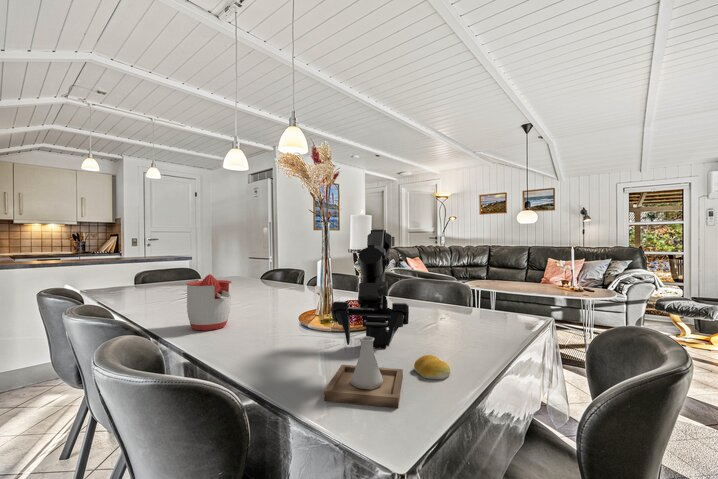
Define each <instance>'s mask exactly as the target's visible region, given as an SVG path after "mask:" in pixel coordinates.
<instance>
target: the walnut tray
mask: <svg viewBox="0 0 718 479" xmlns="http://www.w3.org/2000/svg"><path fill="white" fill-rule="evenodd" d="M355 368H356V365H354V364H353V365H351V364H341V365H340V366H339V368H338V369H337V371H336V372H335V374H334V376H332V378H331V380H330V381H329V383H328V384H327V386H326V387H325V389H324V391H323V401H324V402H331V403H332V402H333V403H343V404H353V405H363V406H371V407H373V406H374V407H383V408H384V407H385V408H395V409H399V404H400V400H401V399H400V398H401V393H402V392H401V391H402V383H403V376H404V374H403V373H404V372H403V371H404V369H402V368H392V367H391V368H389V367H379V370H380V373H381V375H382V378H383V383H382V385H381V386H380V387H377V388H375V389H372V390H370V389H360V388H357V387H355V386H353V385H351V384H350V382H351V379H352V376H353V374H354V371H355Z"/></svg>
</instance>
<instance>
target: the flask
mask: <svg viewBox="0 0 718 479" xmlns="http://www.w3.org/2000/svg"><path fill="white" fill-rule="evenodd" d="M373 341H374V338H373V337H367V336H366V335H365V336H361V337H360V338H359V342H360V351H359V356H358V360H357V362H356V365H355V366H356V368H355V371H354V374H353V376H352V379H351V382H350V384H351V385H353V386H355V387H357V388H360V389H370V390H372V389H375V388H377V387H380V386H381V385H382V383H383V378H382V375H381V373H380V370H379V368H380V367H379V365H378V361H377V358H376V356H375V350H374V348H373Z"/></svg>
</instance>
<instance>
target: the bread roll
mask: <svg viewBox="0 0 718 479" xmlns="http://www.w3.org/2000/svg"><path fill="white" fill-rule="evenodd" d="M413 367H414V370H415V371H416V372H417V374H419V375H420V376H421V377H423V378H424V379H429V380H444V379H447V378H448V377H449V376H450V375H451V368H450V365H449V364H448V363H447V362H446V361H442V360H441V359H440V358H439V357H437V356H435V355H432V354H424V355H422V356H420V357H419V358H416V360H415V361H414V364H413Z"/></svg>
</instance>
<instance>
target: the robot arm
mask: <svg viewBox="0 0 718 479" xmlns="http://www.w3.org/2000/svg"><path fill="white" fill-rule="evenodd" d="M366 240H367V241H366V242H367V244H366V246H367V247H365V248H363V249H362V250H360V251H359V252H358V260H357V262H358V266H359V271H360V274H361V282H360V283H358V293H357V294H358V295H357V296H358V297H357V305H359V306H358V307H357V306H356V307H355V306H354V307H353V306H350V305H349V301H339V300H338V301H336V300H335V301H334V302H332V303H331V307H330V313H331V315H332V316H331V317H332V320H333V322H335V323H337V324H338V325H339V326H342V328H343V331H344V335H345V340H346V345H348V346H349V345H350V340H351V322H350V318H351V316H352V317H353V316H355V317H361V318H362V320H361V321H362V327H363V328H364V327H365V336H367V337H373V338H374V341H373V349H380V350H381V349H382V350H384V349H386V348H389V347H390V345H391V343H392V340H393V338H394V336H395V334H396V333H397V331H398V329H399V328H403V327H404V326H406V325H408V324H409V318H410V317H409V316H410V315H409V313H410V309H409V305H408V303H406V302H405V303H404V302H392V303H391V304H392V305H391V307H389V305H388V304H389V303H388V302H389V301H388V299H387V297H388V281H385V271H386V269H387V268H388V267H389V265H390V264H391V261H390V260H391V259H390V258H389V256H390V251H391V250H392V248H393V246H392V244H393V243H392V241H393V239H392V235H391V234H389V233H388V232H387V230H386V229H384V228H381V229H380V228H373V229H371V230H370V232H369V234H367V239H366Z"/></svg>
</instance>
